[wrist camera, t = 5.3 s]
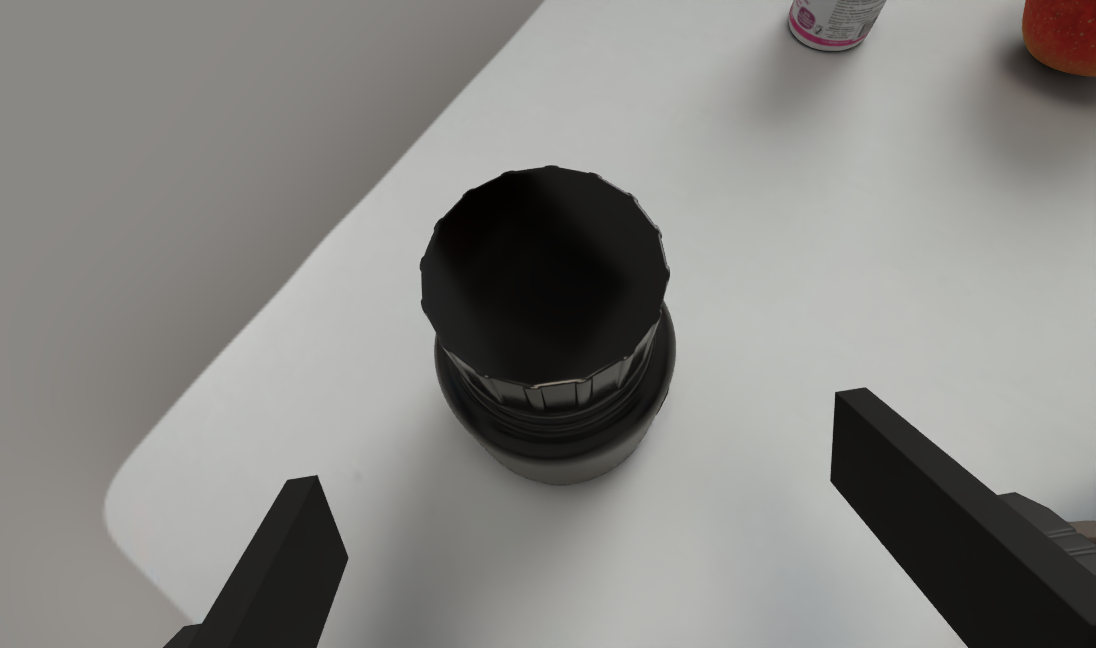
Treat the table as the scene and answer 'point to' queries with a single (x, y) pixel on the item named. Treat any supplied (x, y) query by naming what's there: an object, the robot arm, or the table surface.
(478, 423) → the ink bottle
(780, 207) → the table surface
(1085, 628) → the robot arm
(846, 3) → the pill bottle
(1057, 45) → the apple
